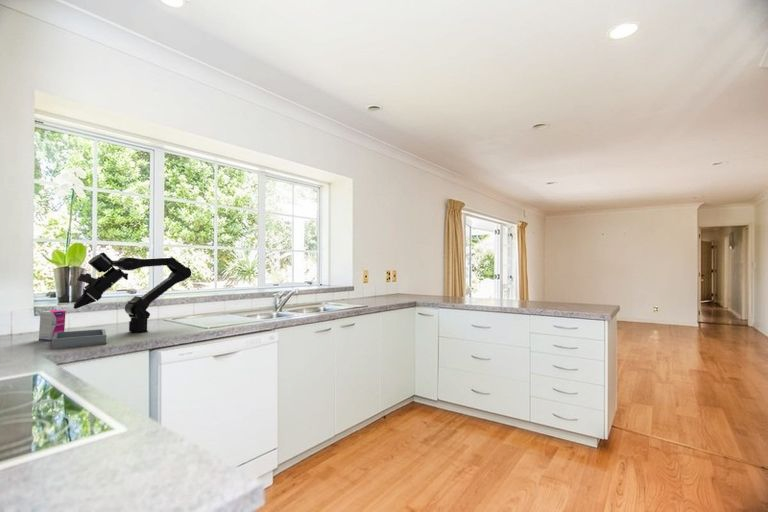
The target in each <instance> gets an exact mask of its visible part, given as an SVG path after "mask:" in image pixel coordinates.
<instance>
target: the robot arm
mask: <svg viewBox="0 0 768 512" xmlns="http://www.w3.org/2000/svg"><path fill="white" fill-rule="evenodd" d="M87 263H88V264H89V265H90V266H91V267H93V268H94V269H95V271H96V272H98V273H103V275H101V276H98V277H96V278H95V277H93V276H92V274H91V273H89V272H86V273H83V272H80V274H79V276H78V277H77V279H76V280H77V282H78V281H79V282H83V283H85V284H87V285H85V286H84V287H83V288H82V294H81V295H80V296H79V298H78V299H77V300H76V301H75V303H73V308H74V309H75V310H76V309H79V308H82V307H84V306H87V305H89V304H93V303H95V302H98V301H100V300H101V298H102V297H103V294H104V293H105V292H106V291H107V290H109V289H111V288H112V287H113V285H115V284H116V283H117V282H118V281H120V280H121V279H122V278H123V279H125V280H126V281H127V280H129V278H128V277H129V273H127V272H124V271H134V270H138V269H141V268H147V267H158V266H159V267H161V266H163V267H164V266H166V267H167V268H168V269H169V270H170V271H171V272H170V273H169V275H168V277H167V278H165V279H164V280H163V281H161V282H160V283H159V284H157V285H156V286H154V287H153V288H152V289H151V290H149V291H148V292H146V293H145V294H144V295H143V296H137V295H135V296H133V297H132V298H131V299H130V300H128V301H126V304H125V306H124V311H125V313H126V314H128V315H127V316H128V317H129V318H130V320H129V321H128V331H129V333H131V334H133V333H137V334H138V333H147V332H149V330H148V319H149V318H150V316H151V313H150V312H149V311H148V310H147V309H148V308H149V307H150V305H151V303H152V302H154V301H155V300H156V299H158V298H160V296H161V295H163V294H164V293H165V292H167V291H168V290H170V289H171V288H172V287H174V286H175V285H176V284H178V283H181V282H184V281H186V280H187V279H189V278H190V277H192V270H191V268H190V267H188V266H186V265H184V264H182V263H181V262H179V261H178V260H177V259H176V258H174V257H173V256H165V257H154V258H138V257H137V258H136V257H127V256H126V257H124V256H123V257H120V258H119V259H118V260H112V259H111V258H110V257H109V256H108V255H107V254H106V253H105V252H100V253H99V254H96V255H95V256H93V257H92V258H90V260H88V262H87ZM116 267H117V268H116Z"/></svg>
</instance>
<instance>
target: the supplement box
mask: <svg viewBox="0 0 768 512" xmlns="http://www.w3.org/2000/svg"><path fill="white" fill-rule="evenodd" d="M39 313H40V316H39V330H38V332H39V333H38V341H43V342H52V339H53V336H54V333H55V332H65V327H66V326H65V325H66V314H67V313H66V310H59V309H58V310H57V309H52V310H41V311H40V312H39Z"/></svg>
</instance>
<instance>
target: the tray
mask: <svg viewBox="0 0 768 512" xmlns="http://www.w3.org/2000/svg"><path fill="white" fill-rule="evenodd" d="M107 337H108V336H107V332H106V329H105V328H100V329H99V328H98V329H88V330H87V329H85V330H70V331H69V330H67V331H64V332H55V333H54V336H53V339H52V341H51V349H52V350H57V348H58V349H67V347H69V348H77V347H78V346H81V347H89V346H90V347H91V346H99V345H107ZM78 348H79V347H78Z"/></svg>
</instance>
